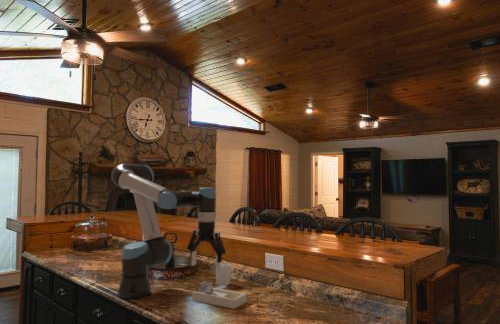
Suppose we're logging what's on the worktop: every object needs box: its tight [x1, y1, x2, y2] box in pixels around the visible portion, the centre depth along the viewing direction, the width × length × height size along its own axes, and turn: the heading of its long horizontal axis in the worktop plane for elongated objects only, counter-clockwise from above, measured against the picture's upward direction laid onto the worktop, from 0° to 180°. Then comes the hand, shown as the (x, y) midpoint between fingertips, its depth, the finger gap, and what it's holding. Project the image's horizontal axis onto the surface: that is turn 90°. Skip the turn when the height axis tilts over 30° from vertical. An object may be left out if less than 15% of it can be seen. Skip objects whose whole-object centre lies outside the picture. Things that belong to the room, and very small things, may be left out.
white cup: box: [215, 262, 232, 286], centre depth 195 cm, size 8×8×10 cm
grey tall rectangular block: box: [215, 285, 228, 290], centre depth 181 cm, size 4×8×2 cm, turn 150°
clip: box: [198, 280, 214, 294], centre depth 172 cm, size 4×4×4 cm
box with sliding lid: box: [191, 287, 247, 309], centre depth 168 cm, size 22×10×4 cm, turn 60°
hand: (205, 267), depth 172 cm, fingers open, 13 cm apart
